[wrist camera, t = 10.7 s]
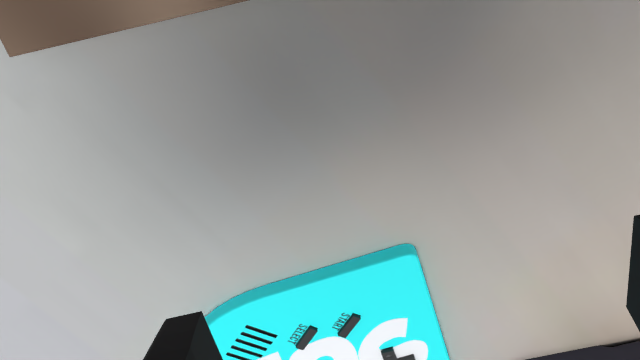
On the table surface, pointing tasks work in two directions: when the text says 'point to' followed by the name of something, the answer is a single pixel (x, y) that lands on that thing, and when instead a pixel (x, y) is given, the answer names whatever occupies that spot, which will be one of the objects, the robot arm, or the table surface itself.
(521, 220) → the table surface
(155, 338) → the robot arm
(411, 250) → the handheld game console
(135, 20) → the track board
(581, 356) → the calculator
